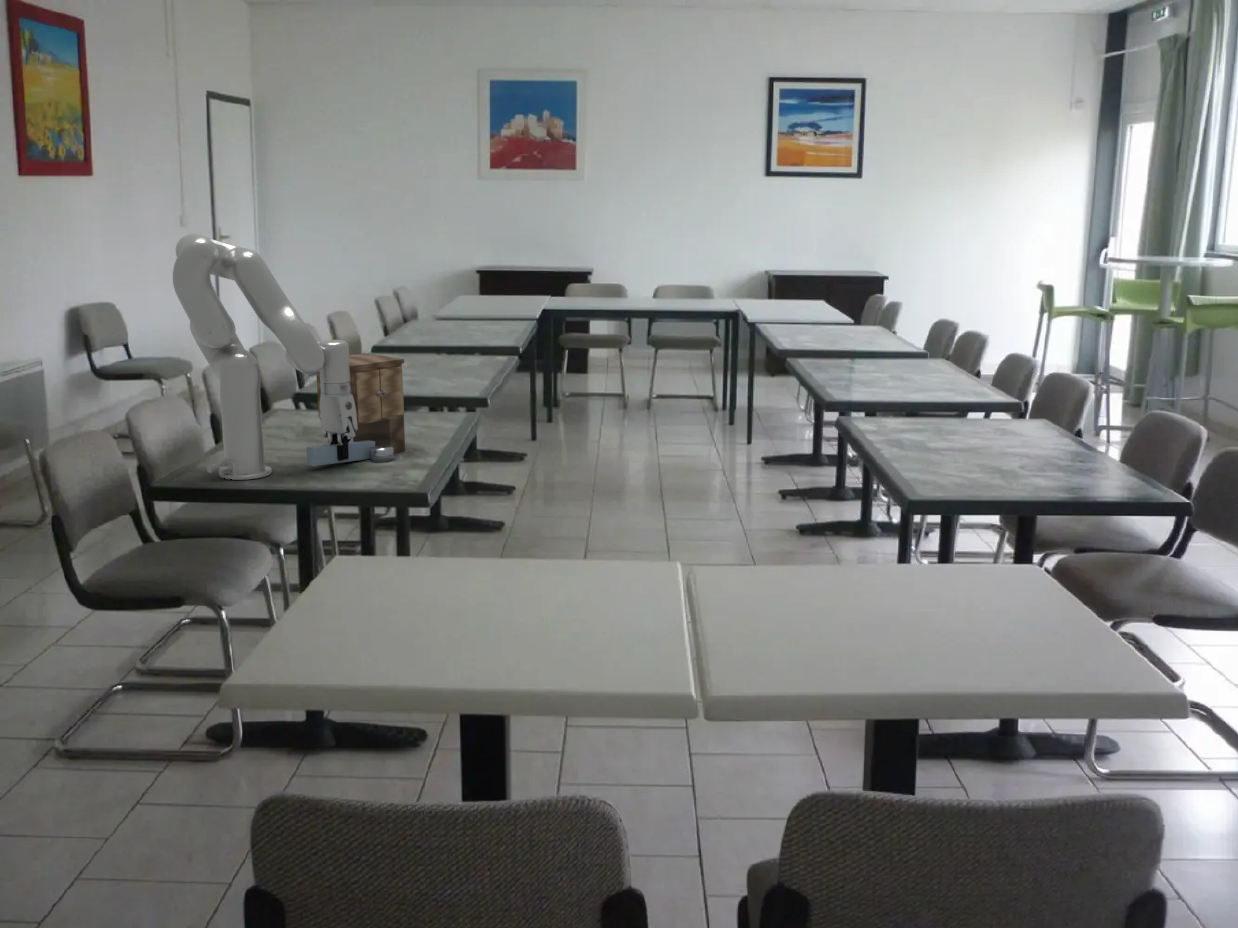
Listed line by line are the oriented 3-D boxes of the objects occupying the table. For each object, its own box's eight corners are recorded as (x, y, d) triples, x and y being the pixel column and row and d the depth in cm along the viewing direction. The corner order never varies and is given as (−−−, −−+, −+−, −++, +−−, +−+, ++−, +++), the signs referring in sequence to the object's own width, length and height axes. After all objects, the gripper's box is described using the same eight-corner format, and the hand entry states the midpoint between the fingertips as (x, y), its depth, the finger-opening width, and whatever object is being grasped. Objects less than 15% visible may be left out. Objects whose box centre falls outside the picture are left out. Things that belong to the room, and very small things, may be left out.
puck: (379, 463, 321) (379, 450, 320) (366, 460, 325) (365, 447, 324) (398, 460, 325) (397, 447, 324) (384, 456, 329) (384, 443, 328)
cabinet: (360, 462, 323) (356, 366, 317) (318, 452, 334) (312, 359, 329) (411, 451, 335) (407, 359, 330) (368, 442, 347) (363, 353, 341)
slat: (312, 466, 312) (312, 448, 311) (306, 464, 313) (306, 447, 312) (374, 458, 327) (375, 441, 326) (368, 456, 328) (368, 440, 328)
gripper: (367, 390, 313) (371, 460, 317) (328, 383, 323) (332, 452, 327) (343, 394, 307) (347, 466, 312) (304, 387, 317) (308, 457, 321)
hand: (339, 458), depth 319 cm, fingers closed on slat, 2 cm apart
